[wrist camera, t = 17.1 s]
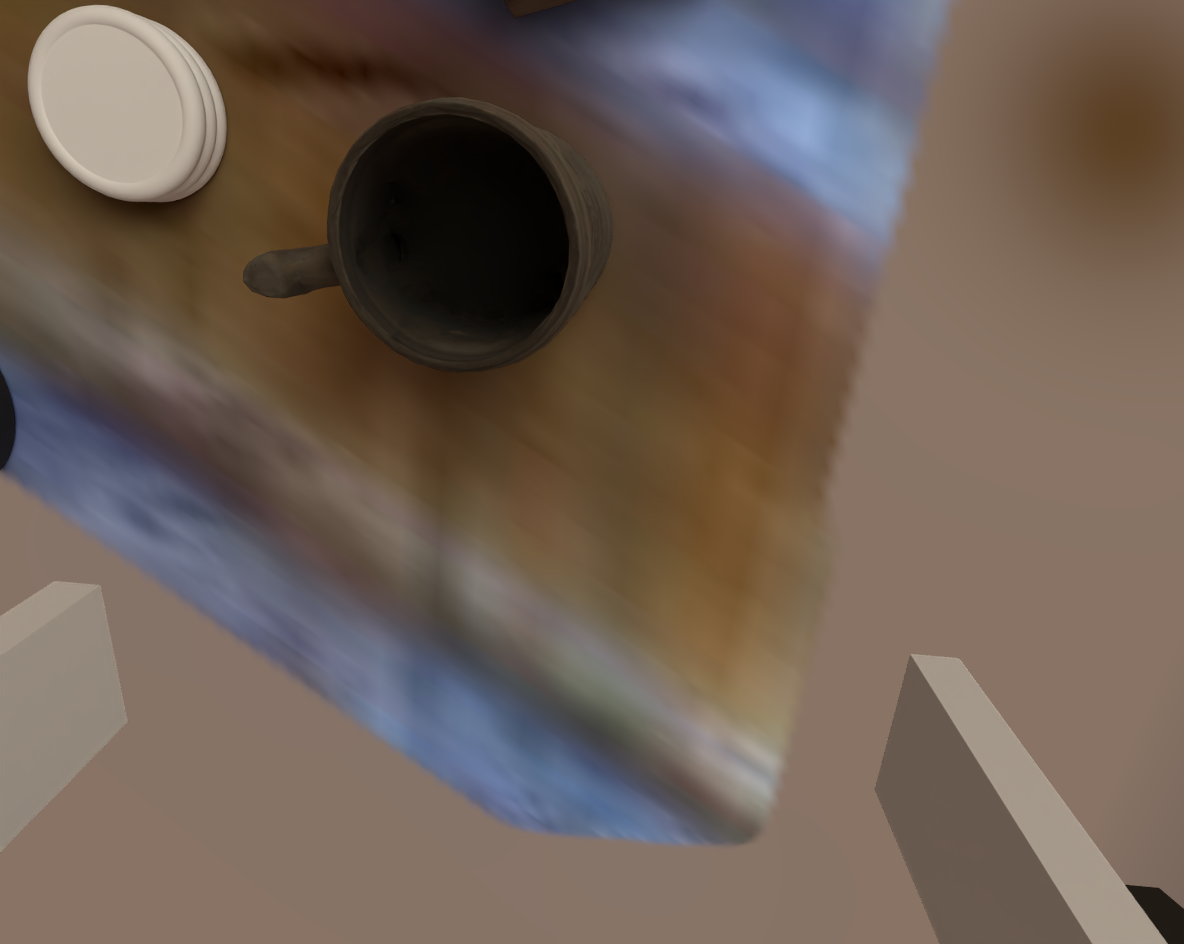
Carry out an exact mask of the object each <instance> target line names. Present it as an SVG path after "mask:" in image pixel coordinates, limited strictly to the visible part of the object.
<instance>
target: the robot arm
mask: <svg viewBox="0 0 1184 944" xmlns="http://www.w3.org/2000/svg"><path fill="white" fill-rule="evenodd" d="M14 433H15V418H14V410H13V405H12V400H11V397H10V393H9V390H8V387H7V385H6V383H5V380H4V378H3V376H2V374H1V372H0V470H1V468H2V467H3V466H4V464H5V462H6V461H7V459H8V456H9V454H10V452H11V448H12V445H13V440H14ZM127 722H128V721H127V716H126V711H125V706H124V701H123V696H122V691H121V686H120V681H119V676H118V671H117V666H116V661H115V656H114V651H113V646H112V641H111V636H110V632H109V626H108V622H107V616H106V611H105V606H104V601H103V596H102V591H101V586H100V585H94V584H82V583H70V582H58V581H54V582H52V583H51V584H49V585H48V586H46V587H45V588H43V589H42V590H40V591H39V592H37V593H35V594H34V595H32V596H31V597H29V598H28V599H26V600H25V601H23V602H22V603H20V604H19V605H17V606H15V607H14V608H12V609H11V610H9V611H8V612H6V613H4V614H3V615H1V616H0V852H1V851H2V850H3V849H4V848H5V847H6V846H7V845H8V844H9V843H10V842H11V841H12V840H13V839H14V838H15V837H16V836H17V835H18V834H19V833H20V831H21V830H22V829H23V828H24V827H25V826H26V825H27V824H28V823H29V822H30V821H31V820H32V819H33V818H34V817H35V816H36V815H37V814H38V813H39V812H40V811H41V810H42V809H43V808H44V807H45V806H46V805H47V804H48V803H49V802H50V801H51V800H52V799H53V798H54V797H55V796H56V795H57V794H58V793H59V792H60V791H61V790H62V789H63V788H64V787H65V785H66V784H67V783H69V781H70V780H72V778H73V777H74V776H75V775H76V774H77V773H78V772H79V771H80V770H81V769H82V768H83V767H84V766H85V765H86V764H87V763H88V762H89V761H90V760H91V759H92V758H93V757H94V756H95V755H96V754H97V753H98V752H99V751H100V750H101V749H102V748H103V747H104V746H105V745H106V744H107V743H108V742H109V741H110V740H111V739H112V738H113V737H114V736H115V734H117V732H118V731H120V730H121V728H122V727H123V726H124V725H125V724H126V723H127ZM875 791H876V793H877V796H878V798H879V801H880V803H881V805H882V808H883V810H884V812H885V815H886V817H887V819H888V822H889V824H890V827H891V829H892V832H893V834H894V836H895V838H896V841H897V843H898V846H899V848H900V850H901V853H902V855H903V858H904V860H905V862H906V865H907V867H908V870H909V872H910V874H911V877H912V879H913V882H914V884H915V886H916V889H917V891H918V893H919V896H920V898H921V901H922V903H923V905H924V908H925V910H926V912H927V915H928V917H929V920H930V922H931V924H932V927H933V929H934V931H935V934H936V936H937V939H938V941H939V943H940V944H1184V909H1183V908H1182V907H1181V906H1180V905H1178V904H1177V903H1176V902H1175V901H1174V900H1173V899H1171V898H1170V897H1169V896H1168V895H1167V894H1165V893H1164V892H1163V891H1162V890H1161V889H1159V888H1154V887H1142V886H1131V885H1124V883H1123V882H1122V881H1121V879H1120V878H1119V876H1118V875H1117V874H1116V872H1115V871H1114V870H1113V869H1112V867H1111V866H1110V864H1109V863H1108V861H1107V860H1106V859H1105V857H1104V856H1103V855H1102V853H1101V852H1100V851H1099V849H1098V848H1097V846H1096V845H1095V844H1094V842H1093V841H1092V840H1091V838H1090V837H1089V835H1088V834H1087V833H1086V831H1085V830H1084V829H1083V827H1082V826H1081V824H1080V823H1079V822H1078V821H1077V819H1076V818H1075V816H1074V815H1073V814H1072V812H1071V811H1070V809H1069V808H1068V807H1067V805H1066V804H1065V803H1064V801H1063V800H1062V799H1061V797H1060V796H1059V794H1058V793H1057V792H1056V790H1055V789H1054V788H1053V786H1052V785H1051V783H1050V782H1049V781H1048V779H1047V778H1046V777H1045V775H1044V774H1043V772H1042V771H1041V770H1040V768H1039V767H1038V766H1037V764H1036V763H1035V762H1034V760H1033V759H1032V757H1031V756H1030V755H1029V753H1028V752H1027V751H1026V749H1025V748H1024V746H1023V745H1022V744H1021V742H1020V741H1019V740H1018V738H1017V737H1016V735H1015V734H1014V733H1013V731H1012V730H1011V729H1010V727H1009V726H1008V725H1007V723H1006V722H1005V720H1004V719H1003V718H1002V716H1001V715H1000V714H999V712H998V711H997V710H996V708H995V707H994V705H993V704H992V703H991V701H990V700H989V699H988V697H987V696H986V695H985V693H984V692H983V690H982V689H981V688H980V686H979V685H978V684H977V682H976V681H975V679H974V678H973V677H972V675H971V674H970V673H969V671H968V670H967V669H966V667H965V666H964V664H963V663H962V662H961V660H960V659H959V658H951V657H939V656H928V655H916V654H910V657H909V661H908V665H907V669H906V673H905V676H904V680H903V684H902V688H901V691H900V696H899V699H898V703H897V707H896V710H895V714H894V718H893V722H892V726H891V729H890V733H889V737H888V741H887V745H886V749H885V752H884V756H883V760H882V764H881V768H880V771H879V775H878V779H877V783H876V787H875Z"/></svg>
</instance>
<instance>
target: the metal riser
mask: <svg viewBox="0 0 1184 944" xmlns="http://www.w3.org/2000/svg"><path fill="white" fill-rule="evenodd" d="M504 1H505V3H506V5H507V6H508V8H509V10H510V11H511V13H512V14H513V16H514V18H516V17H520V16H524V15H527V14H531V13H534V12H538V11H541V10H545V9H548V8H552V7H555V6H559V5H562V4H566V3H569V2H573V1H576V0H504Z"/></svg>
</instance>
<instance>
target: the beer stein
mask: <svg viewBox="0 0 1184 944" xmlns="http://www.w3.org/2000/svg"><path fill="white" fill-rule="evenodd" d="M327 238H328V244H325V245H320V246H312V247H304V248H297V249H288V250H277V251H270V252H267V253H265V254H262V255H260V256H257V257H256V258H254V259H253V260H252V261H250V262H249V263H248V264H247V266H246V268H245V270H244V274H243V282H244V283H245V284H246V285H247V286H248V287H249V289H250V290H251V291H252V292H255V293H258V294H261V295H263V296H266V297H273V298H288V297H292V296H296V295H302V294H307V293H309V292H311V291H313V290H316V289H320V288H325V287H332V286H340V285H341V287H342V290H343V292H344V294H345V296H346V298H347V300H348V302H349V304H350V305H351V307H352V308H353V310H354V311H355V313H356V314H357V315H358V317H359V318H360V320H361V321H362V322H363V323H364V324H365V325H366V326H367V327H368V328H369V329H370V330H371V331H372V332H373V333H374V334H375V335H376V336H377V337H378V338H380V339H381V340H382V341H383V342H384V343H385V344H386V345H387V346H389V347H390V348H391V349H392V350H394V351H395V352H397V353H399V354H401V355H402V356H404V357H406V358H408V359H409V360H411V361H413V362H415V363H418V364H421V365H424V366H428V367H431V368H434V369H437V370H442V371H449V372H457V373H459V372H481V371H485V370H490V369H495V368H500V367H503V366H507V365H510V364H513V363H517V362H519V361H521V360H523V359H524V358H526V357H528V356H529V355H531V354H533V353H534V352H536V351H538V350H539V349H541V348H543V347H544V346H546V345H547V344H548V343H549V342H550V341H551V340H552V339H553V338H554V337H555V336H556V335H557V334H558V333H559V332H560V330H561V329H562V328H563V327H564V326H565V325H566V324H567V322H568V321H569V319H570V318H571V317H572V316H574V315H575V314H576V312H577V311H578V309H579V308H580V306H581V304H582V302H583V301H584V300H585V299H586V298H587V296H588V293H589V292H590V290H591V289H592V287H593V286H594V285H595V283H596V282H597V280H598V279H599V277H600V276H601V274H602V272H603V269H604V267H605V264H606V262H607V259H608V257H609V254H610V247H611V241H612V214H611V210H610V206H609V203H608V199H607V196H606V193H605V190H604V188H603V186H602V184H601V182H600V180H599V178H598V177H597V175H596V173H595V172H594V170H593V169H592V168H591V167H590V165H589V164H588V163H587V162H586V161H585V159H584V158H583V157H581V156H580V155H579V154H578V153H577V152H575V151H574V150H573V149H571V147H570V146H569V144H568V143H567V142H565V141H564V140H562V139H561V138H560V137H556V136H555V135H554V134H552V133H550V132H548V131H546V130H543V129H540V128H537V127H534V126H533V125H532V124H530V123H529V122H527V121H526V120H524V119H522V118H521V117H519V116H518V115H516V114H514V113H512V112H509V111H507V110H505V109H502V108H500V107H498V106H495V105H493V104H491V103H487V102H482V101H477V100H472V99H467V98H462V97H454V98H437V99H432V100H427V101H423V102H418V103H415V104H412V105H409V106H405V107H402V108H399V109H397V110H396V111H394V112H392V113H390V114H388V115H386V116H384V117H383V118H381V119H380V120H378V121H377V122H376V123H375V124H374V125H372V126H371V127H370V128H369V129H367V130H366V131H365V132H364V133H363V135H362V136H361V137H360V138H359V139H358V140H357V141H356V142H355V144H354V145H353V146H352V147H351V148H350V150H349V151H348V153H347V155H346V157H345V158H344V160H343V162H342V163H341V165H340V167H339V169H338V171H337V174H336V177H335V180H334V183H333V186H332V188H331V193H330V200H329V208H328V219H327Z"/></svg>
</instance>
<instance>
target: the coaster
mask: <svg viewBox="0 0 1184 944" xmlns="http://www.w3.org/2000/svg"><path fill="white" fill-rule="evenodd" d="M28 94H29V102H30V106H31V110H32V114H33V117H34V120H35V123H36V125H37V128H38V130H39V132H40V134H41V136H42V138H43V140H44V142H45V143H46V145H47V147H48V148H49V150H50V151H51V152H52V154H53V155H54V156H55V158H56V159H57V160H58V161H59V162H60V164H61V165H62V166H63V167H64V168H65V169H66V170H67V171H68V172H69V173H71V174H72V175H73V176H74V177H75V178H77V179H78V180H79V181H81V182H82V183H83V184H85V185H87V186H88V187H90V188H92V189H93V190H95V191H98V192H100V193H102V194H104V195H106V196H109V197H112V198H115V199H119V200H124V201H132V202H170V201H175V200H179V199H182V198H184V197H187V196H189V195H191V194H193V193H194V192H196V191H197V190H199V189H200V188H202V187H203V186H204V185H205V184H206V183H207V182H208V181H209V180H210V178H211V177H212V176H213V174H214V173H215V171H216V169H217V168H218V166H219V164H220V161H221V159H222V156H223V153H224V149H225V145H226V137H227V118H226V112H225V106H224V102H223V98H222V95H221V92H220V90H219V87H218V85H217V82H216V80H215V78H214V76H213V75H212V73H211V71H210V69H209V68H208V66H207V65H206V63H205V62H204V61H203V59H202V58H201V57H200V56H199V54H198V53H197V52H196V51H195V50H194V49H193V48H192V47H191V46H190V45H189V44H188V43H187V42H186V41H185V40H184V39H182V38H181V37H180V36H179V35H177V34H176V33H175V32H173V31H171V30H170V29H168V28H167V27H165V26H163V25H161V24H159V23H157V22H155V21H152V20H149V19H146V18H144V17H142V16H139V15H136V14H133V13H131V12H129V11H126V10H123V9H120V8H117V7H112V6H106V5H91V6H82V7H78V8H75V9H71V10H69V11H67V12H65V13H63V14H61V15H59V16H58V17H57V18H55V19H54V20H53V21H52V22H50V24H49V25H48V26H47V27H46V28H45V29H44V30H43V32H42V33H41V35H40V36H39V38H38V40H37V42H36V44H35V46H34V49H33V51H32V55H31V59H30V62H29V69H28Z"/></svg>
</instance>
